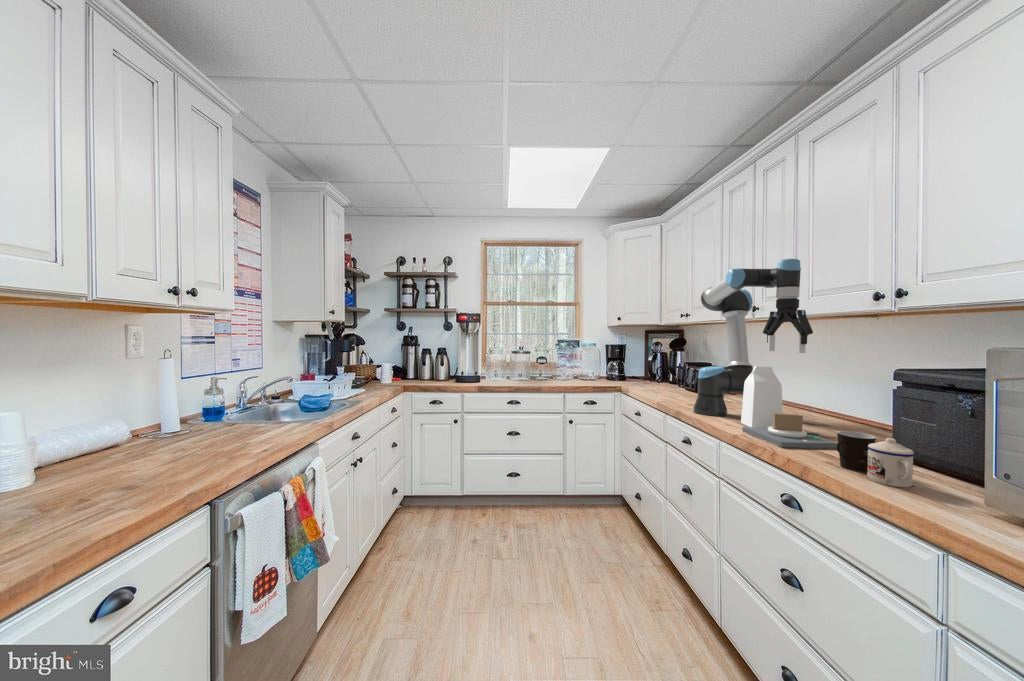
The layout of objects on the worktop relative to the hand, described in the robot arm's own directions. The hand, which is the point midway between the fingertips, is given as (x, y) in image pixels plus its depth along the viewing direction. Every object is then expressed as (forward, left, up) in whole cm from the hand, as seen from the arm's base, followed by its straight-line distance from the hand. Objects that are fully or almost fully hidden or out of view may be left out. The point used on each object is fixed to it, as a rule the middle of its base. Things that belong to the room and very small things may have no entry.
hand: (785, 352), depth 155 cm
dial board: (+9, -5, -33) cm, 34 cm away
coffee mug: (+40, -9, -33) cm, 53 cm away
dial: (+10, -3, -31) cm, 32 cm away
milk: (-13, 0, -33) cm, 35 cm away
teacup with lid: (+52, -8, -33) cm, 62 cm away
